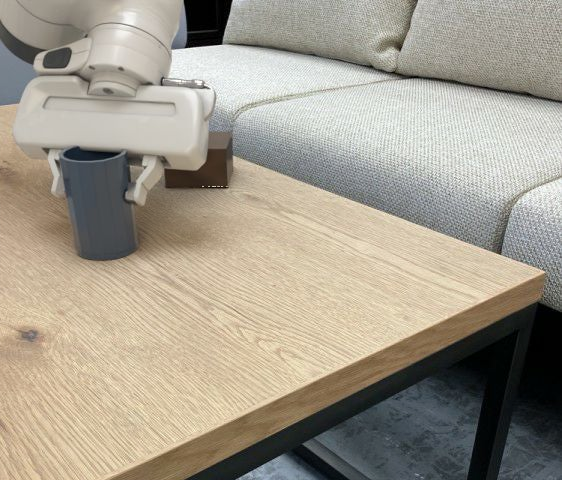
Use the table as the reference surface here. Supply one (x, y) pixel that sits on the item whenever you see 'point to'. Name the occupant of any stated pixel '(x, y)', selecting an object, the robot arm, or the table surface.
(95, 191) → the slate cup
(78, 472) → the table surface
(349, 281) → the table surface
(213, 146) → the walnut block
